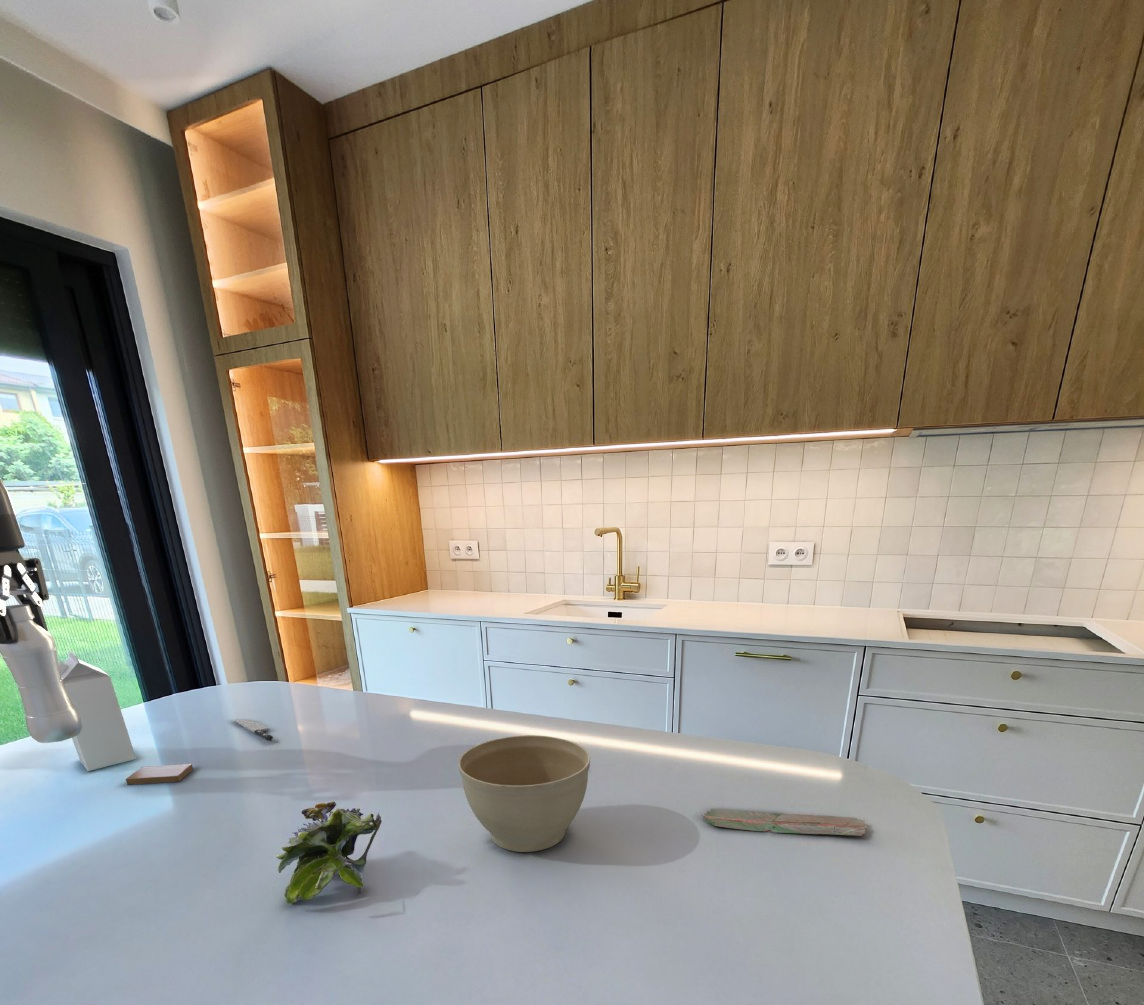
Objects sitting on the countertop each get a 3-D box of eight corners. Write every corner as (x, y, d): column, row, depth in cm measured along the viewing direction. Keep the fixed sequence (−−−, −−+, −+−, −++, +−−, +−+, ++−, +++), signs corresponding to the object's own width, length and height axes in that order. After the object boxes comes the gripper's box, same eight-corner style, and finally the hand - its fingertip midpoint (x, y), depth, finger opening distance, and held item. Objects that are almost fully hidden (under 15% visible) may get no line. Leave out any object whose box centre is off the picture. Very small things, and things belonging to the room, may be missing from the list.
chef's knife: (247, 717, 133) (232, 720, 131) (246, 712, 132) (231, 715, 130) (284, 739, 120) (268, 742, 118) (283, 733, 120) (267, 736, 118)
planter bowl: (527, 884, 74) (522, 798, 69) (440, 839, 84) (431, 761, 80) (617, 831, 84) (616, 753, 80) (530, 796, 95) (526, 726, 90)
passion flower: (338, 905, 80) (364, 810, 82) (389, 923, 73) (416, 819, 75) (248, 894, 72) (280, 789, 74) (297, 913, 65) (330, 796, 67)
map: (702, 812, 89) (702, 806, 89) (862, 817, 84) (863, 811, 84) (700, 830, 85) (700, 824, 84) (870, 836, 80) (870, 829, 80)
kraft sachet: (127, 784, 103) (125, 779, 103) (143, 772, 108) (141, 766, 107) (179, 781, 104) (177, 775, 103) (193, 769, 108) (191, 763, 108)
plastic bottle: (21, 747, 96) (-31, 610, 88) (61, 731, 102) (15, 602, 95) (59, 749, 95) (9, 611, 87) (97, 732, 101) (53, 602, 94)
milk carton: (126, 749, 118) (93, 645, 110) (136, 759, 113) (102, 651, 105) (79, 761, 113) (41, 653, 106) (88, 772, 108) (48, 660, 101)
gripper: (-12, 511, 93) (30, 629, 99) (-98, 515, 79) (-44, 651, 86) (44, 510, 93) (81, 627, 100) (-33, 513, 80) (16, 648, 86)
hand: (23, 637), depth 93 cm, fingers closed on plastic bottle, 6 cm apart
